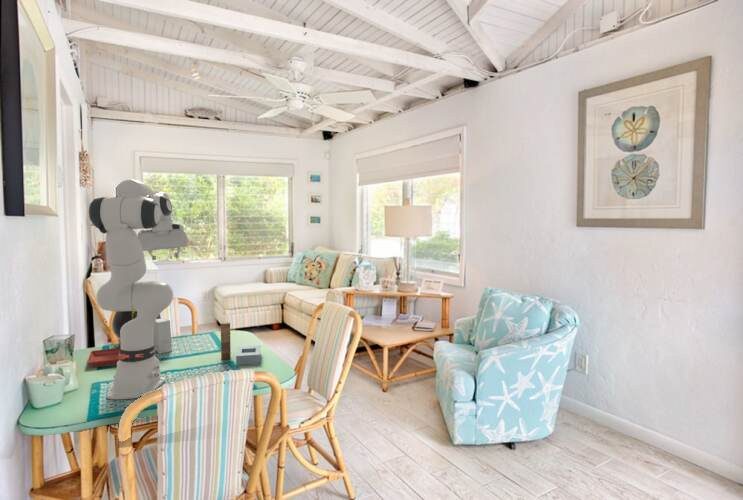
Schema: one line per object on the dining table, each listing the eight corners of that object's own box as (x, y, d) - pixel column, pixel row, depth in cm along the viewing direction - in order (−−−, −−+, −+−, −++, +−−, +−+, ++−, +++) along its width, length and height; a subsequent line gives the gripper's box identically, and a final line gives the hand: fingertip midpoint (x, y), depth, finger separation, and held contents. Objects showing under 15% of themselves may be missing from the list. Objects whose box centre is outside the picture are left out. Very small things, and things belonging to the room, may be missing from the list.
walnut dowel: (230, 359, 201) (229, 324, 200) (220, 360, 200) (220, 324, 199) (230, 356, 205) (230, 322, 204) (221, 357, 204) (221, 322, 203)
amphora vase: (141, 352, 211) (140, 292, 209) (102, 348, 215) (99, 290, 213) (171, 339, 232) (169, 285, 230) (134, 336, 236) (132, 283, 234)
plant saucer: (91, 357, 203) (90, 350, 203) (136, 352, 211) (136, 345, 211) (87, 370, 187) (86, 362, 187) (136, 364, 195) (136, 356, 195)
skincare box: (172, 351, 212) (171, 320, 211) (158, 354, 208) (157, 322, 207) (165, 347, 218) (164, 317, 217) (152, 350, 214) (151, 319, 213)
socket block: (260, 363, 196) (260, 354, 196) (236, 365, 194) (236, 356, 194) (260, 353, 210) (260, 345, 210) (238, 355, 208) (237, 346, 207)
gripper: (135, 229, 197) (138, 260, 196) (185, 224, 203) (189, 255, 202) (138, 232, 203) (141, 262, 202) (187, 227, 209) (190, 257, 208)
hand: (165, 258), depth 202 cm, fingers open, 8 cm apart
